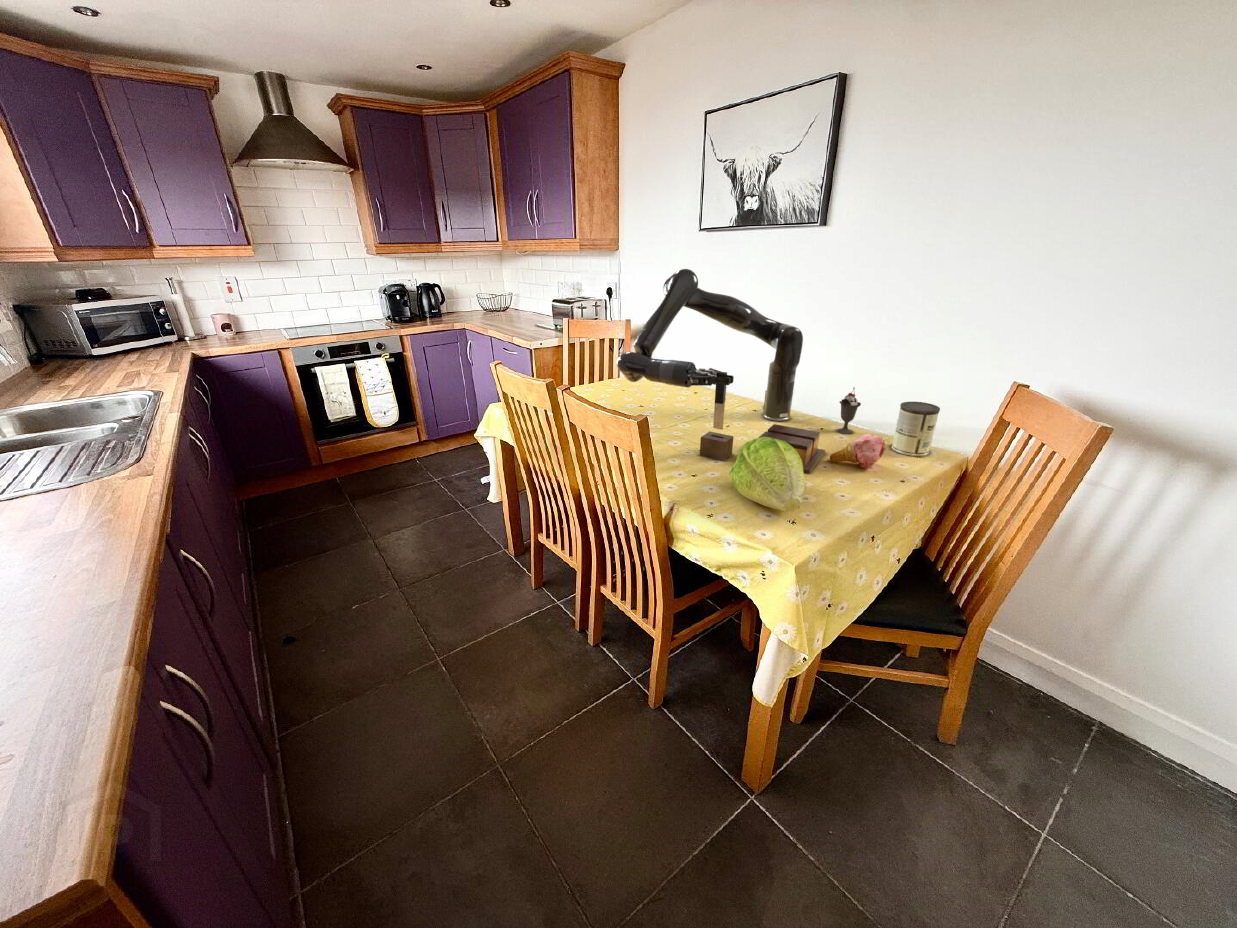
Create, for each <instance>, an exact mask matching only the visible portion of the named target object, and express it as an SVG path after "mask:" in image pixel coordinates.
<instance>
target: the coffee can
mask: <svg viewBox="0 0 1237 928" xmlns="http://www.w3.org/2000/svg"><path fill="white" fill-rule="evenodd" d="M899 407H900V408H899V413H898V417H897V420H896V421H897V422H896V426H895V431H894V436H893V440H892V444H891V450H893V451H894V452H896V453H899V454H902V455H907V456H913V457H924V456H928V455H929V454H930V449H931V445H932V442H933V438H934V437H933V436H934V433H935V429H936V426H937V421H938V417H939V413H940V411H941V407H940V406H938V405H936V404H933V403H928V402H924V401H904V402H901V403H900V404H899Z"/></svg>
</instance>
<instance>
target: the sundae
mask: <svg viewBox="0 0 1237 928" xmlns="http://www.w3.org/2000/svg"><path fill="white" fill-rule="evenodd" d="M855 389H856V387H855V386H854V387H853V389H852V391H851V392H849V393H848V394H846V395H845V396H844V397H843V399H841V400H839V404H840V418H841V420H842V421H843V423H844V424H843V427H842V428H838V429H837V430H836V432H837V433H840V434H842V435H843V434H844V435H851V434H853V433H854V431H853V430H851V429H849V423H850V422H852V421H853V420H854V418H855V417H856V414H857V410H858V408H859V407H861V405H862V403H861V402H859V401H858V399H857V397H856V394H855V393H854V391H855Z"/></svg>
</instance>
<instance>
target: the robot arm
mask: <svg viewBox="0 0 1237 928" xmlns="http://www.w3.org/2000/svg"><path fill="white" fill-rule="evenodd" d="M662 289H663V294H664V298H663V299H662V302H661V303H660V305H659V306H658V307H657V308H656V309H655V311H654V312H653V313H652V315H651V316H650V317H649V318H648V320H647V321H646V322H645V324H644V325H643V327H642V328H641V329H640V332H639V333H638V334H637V336H636V337H635V339H634V341H633V348H634V351H626V352H623V353H621V354H620V355H619V356H618V357H617V359H616V367H617V369H618V370H619V372H620V373H621V374H622V375H623V376H624V377H625V379H626V380H627V381H629V382H630V383H636V382H639V381H641V380H642V379H643V378H645V379H646V380H647V381H649V382H654V383H660V384H665V385H669V386H675V387H680V388H687V389H689V388H691V387H694V386H695V387H696V386H697V387H698V386H704V387H705V386H708V387H711V386H713V385H715V386H716V384H722V385H726V386H730V385H731V384H733V383H734V378H735V377H734V375H732V374H731V375H730V374H727V377H724V376H717V375H716V374H717V372H719V371H720V372H722V371H721V370H718V369H716V368H712V367H709V368H708V369H706V368H703V367H700V368H698V369H697V367H696V364H695V362H693V361H685V360H677V359H663V358H654V357H653V354H654V352H655V351H656V349H657V348H658V345H659V344H660V343H661V341H662V340H663V338H664V336H665V334H666V333H667V332H668V331H667V330H668V329H669V327H670V326H671V324H672V323H673V321H674V319H675V318H676V316H678V314H679V313H680V311H681V310H682V309H683V307H684V308H687V309H689V310H692V311H695V312H698V313H700V314H702V315H704V316H706V317H708V318H710V319H711V320H713V321H715V322H717V323H719V324H722V325H724V326H726V327H728V328H730V329H732V330H734V331H737V332H739V333H742V334H746V335H749V336H753V337H756V338H757V339H759V340H760V341H762V342H764V343H766V344H767V345H769V346H770V347H771V348H772V349H774V350H775V354H774V359H773V360H772V361H771V362H770V363H769V366H768V373H767V374H768V376H767V384H766V390H765V393H764V403H763V411H762V415H763V418H764V419H766V420H768V421H773V422H784V421H789V420H790V419H791V412H792V406H793V405H792V404H793V397H794V389H795V382H796V381H795V380H796V374H797V369H798V366H799V364H800V362H801V357H802V350H803V344H804V335H803V331H802V330H801V329H800V328H798V327H796V326H794V325H790V324H787V323H783V322H780V321H777V320H774V319H772V318H769V317H767V316H765V315H763V314H762V313H761V312H759V311H758V310H757V309H756V308H755V307H754V306H751V305H750V304H748V303H747V302H744V301H743V300H740V299H739V298H737V297H735V296H731V295H728V294H724V293H723V294H722V293H717V292H716V293H715V292H710V291H708V290H707V291H706V290H704V289H701V287H699V278H698V275H696V273H695V271H693V270H691V269H689V268H682V269H679V270H677V271H675V272H673V274H671V275H670V276H669V277H668V278H667V279H665V281H664V283H663V286H662Z"/></svg>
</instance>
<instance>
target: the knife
mask: <svg viewBox="0 0 1237 928" xmlns="http://www.w3.org/2000/svg"><path fill="white" fill-rule="evenodd" d="M718 371H719V372H717V374H716V375H717V376H724V377H727V375H728V372H727V371H721V370H718ZM720 371H721V372H720ZM726 397H727V385H722V384H715V391H714V408H713V409H714V410H713V424H712V425H713V427H712V428H713V429H715V430H716V429H717V430H724V422H725V421H724V420H725V406H726Z"/></svg>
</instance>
